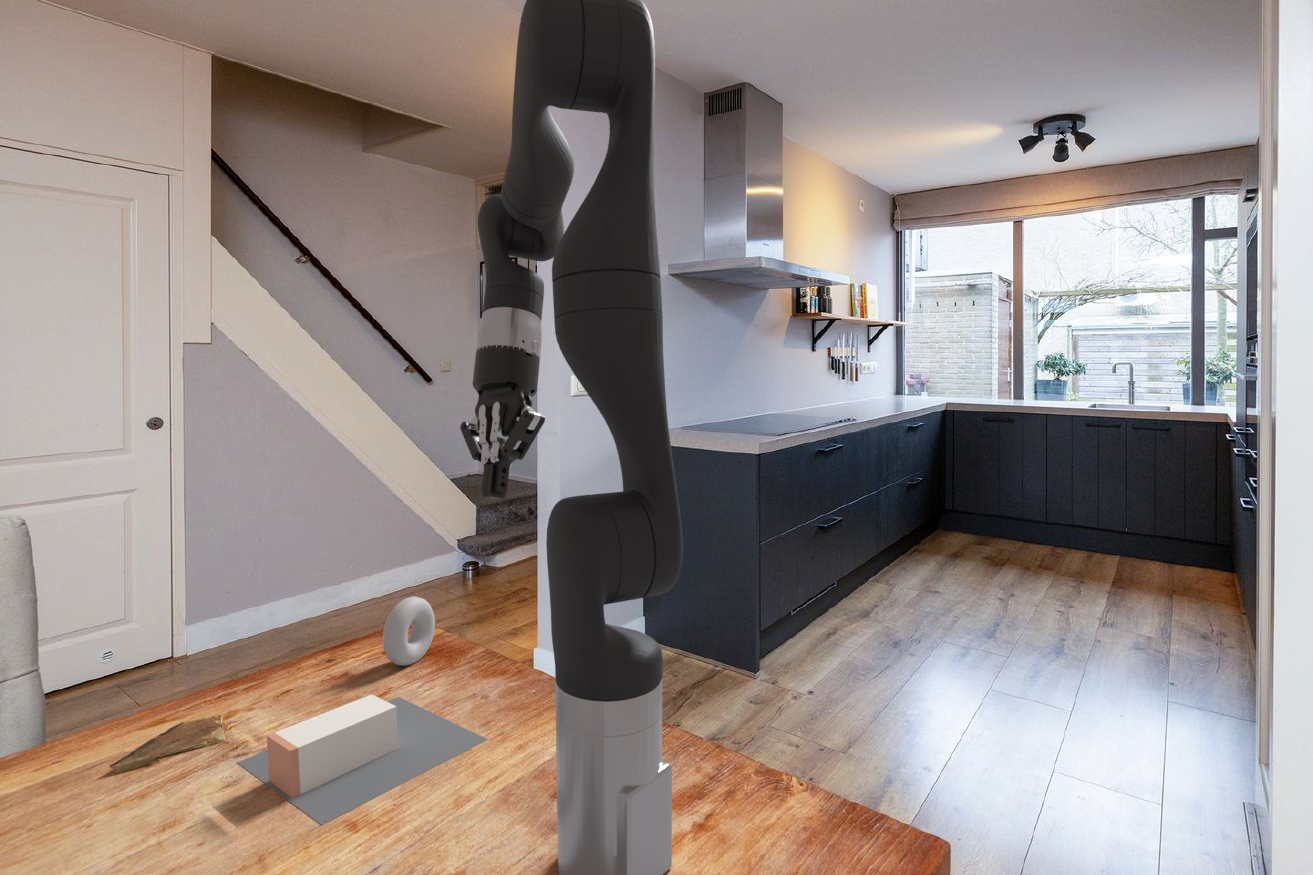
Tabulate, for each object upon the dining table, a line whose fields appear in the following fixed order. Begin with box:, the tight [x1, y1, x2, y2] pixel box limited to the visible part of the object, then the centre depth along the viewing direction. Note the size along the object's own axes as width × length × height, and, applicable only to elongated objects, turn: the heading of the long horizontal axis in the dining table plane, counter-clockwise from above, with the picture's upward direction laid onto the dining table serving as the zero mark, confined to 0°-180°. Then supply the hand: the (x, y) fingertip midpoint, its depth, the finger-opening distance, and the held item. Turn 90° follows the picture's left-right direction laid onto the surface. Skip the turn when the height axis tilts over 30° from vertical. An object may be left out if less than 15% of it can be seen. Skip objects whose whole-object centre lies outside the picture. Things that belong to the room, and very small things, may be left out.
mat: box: [236, 696, 489, 826], centre depth 83 cm, size 18×20×1 cm
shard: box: [108, 713, 226, 774], centre depth 85 cm, size 11×8×2 cm
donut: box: [382, 595, 436, 667], centre depth 107 cm, size 10×4×10 cm, turn 162°
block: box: [266, 694, 398, 798], centre depth 79 cm, size 5×5×12 cm
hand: (493, 497), depth 83 cm, fingers closed
